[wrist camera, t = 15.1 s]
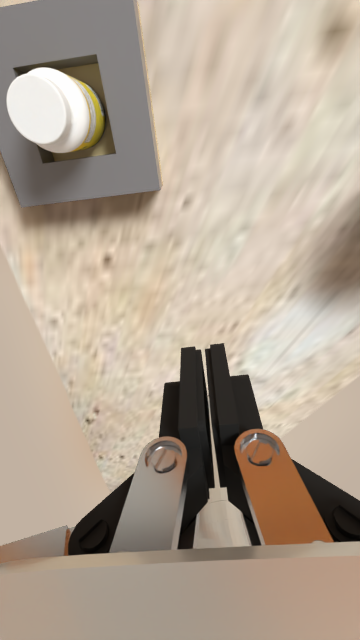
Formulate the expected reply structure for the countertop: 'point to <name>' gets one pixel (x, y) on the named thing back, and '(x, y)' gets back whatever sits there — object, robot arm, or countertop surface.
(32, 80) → the supplement bottle
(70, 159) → the socket block
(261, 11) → the countertop surface
